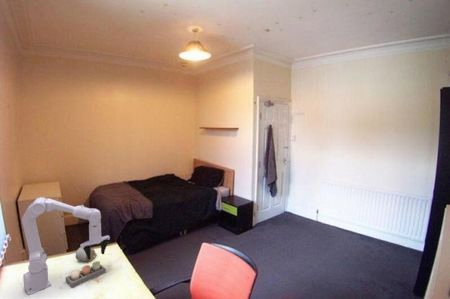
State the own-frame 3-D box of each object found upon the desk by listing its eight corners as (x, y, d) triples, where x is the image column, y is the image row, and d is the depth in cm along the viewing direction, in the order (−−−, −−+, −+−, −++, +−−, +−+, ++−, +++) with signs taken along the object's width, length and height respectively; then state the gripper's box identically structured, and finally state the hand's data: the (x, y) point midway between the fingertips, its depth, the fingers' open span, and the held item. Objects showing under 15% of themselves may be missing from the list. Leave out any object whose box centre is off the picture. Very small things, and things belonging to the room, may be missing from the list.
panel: (71, 288, 121) (71, 283, 121) (65, 281, 126) (65, 277, 126) (106, 272, 134) (105, 268, 134) (99, 267, 139) (99, 263, 139)
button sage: (94, 272, 131) (94, 265, 131) (91, 270, 134) (91, 263, 133) (101, 269, 134) (101, 262, 134) (98, 267, 136) (98, 260, 136)
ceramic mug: (86, 264, 142) (86, 251, 142) (75, 262, 144) (74, 249, 144) (100, 255, 153) (99, 243, 152) (89, 253, 154) (88, 242, 154)
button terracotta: (84, 277, 127) (83, 269, 127) (81, 274, 130) (80, 267, 129) (91, 274, 130) (91, 266, 130) (88, 271, 132) (88, 264, 132)
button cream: (73, 282, 123) (72, 274, 123) (70, 279, 126) (70, 271, 125) (80, 278, 126) (80, 271, 126) (77, 276, 128) (77, 268, 128)
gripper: (84, 238, 124) (84, 264, 125) (112, 229, 135) (112, 253, 136) (78, 235, 128) (79, 259, 130) (105, 226, 140) (106, 249, 141)
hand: (96, 256), depth 133 cm, fingers open, 7 cm apart
